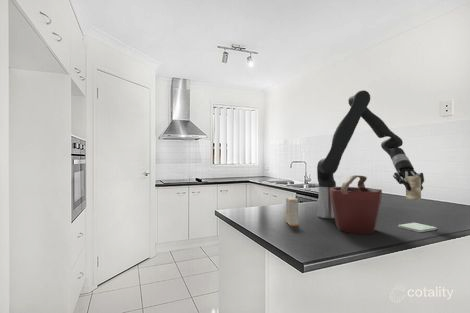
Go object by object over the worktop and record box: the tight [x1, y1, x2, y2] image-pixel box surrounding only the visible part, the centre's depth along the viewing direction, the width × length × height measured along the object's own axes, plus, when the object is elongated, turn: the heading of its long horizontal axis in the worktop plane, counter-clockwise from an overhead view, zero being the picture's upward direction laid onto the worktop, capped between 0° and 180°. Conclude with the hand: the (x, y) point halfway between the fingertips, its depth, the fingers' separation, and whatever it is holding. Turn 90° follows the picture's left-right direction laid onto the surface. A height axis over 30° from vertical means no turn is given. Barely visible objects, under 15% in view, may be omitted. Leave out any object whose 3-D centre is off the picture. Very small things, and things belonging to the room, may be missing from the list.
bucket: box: [330, 175, 383, 235], centre depth 121 cm, size 24×22×25 cm
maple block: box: [405, 176, 422, 201], centre depth 127 cm, size 4×4×11 cm
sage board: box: [397, 222, 437, 233], centre depth 122 cm, size 12×10×1 cm
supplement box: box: [285, 196, 299, 227], centre depth 131 cm, size 8×5×13 cm, turn 179°
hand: (415, 189), depth 125 cm, fingers closed on maple block, 4 cm apart
